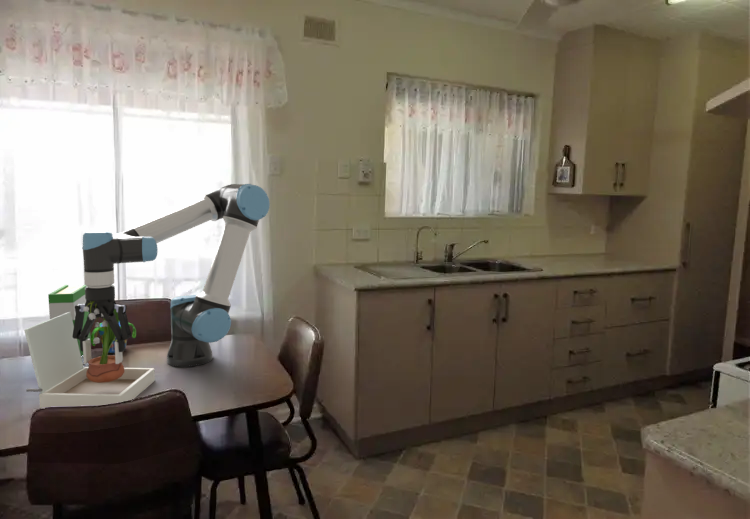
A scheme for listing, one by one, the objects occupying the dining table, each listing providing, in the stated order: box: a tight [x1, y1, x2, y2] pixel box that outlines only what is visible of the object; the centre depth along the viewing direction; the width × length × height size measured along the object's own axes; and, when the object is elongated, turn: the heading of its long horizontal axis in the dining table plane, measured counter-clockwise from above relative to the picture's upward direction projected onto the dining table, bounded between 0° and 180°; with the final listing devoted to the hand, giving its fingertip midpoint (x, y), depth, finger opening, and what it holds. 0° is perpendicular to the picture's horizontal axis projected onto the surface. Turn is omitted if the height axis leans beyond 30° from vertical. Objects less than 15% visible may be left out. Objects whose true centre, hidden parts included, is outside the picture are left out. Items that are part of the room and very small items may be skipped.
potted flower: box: [83, 301, 125, 383], centre depth 149 cm, size 12×10×25 cm
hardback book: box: [48, 284, 91, 357], centre depth 183 cm, size 18×7×24 cm, turn 15°
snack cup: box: [90, 321, 137, 354], centre depth 190 cm, size 16×10×10 cm
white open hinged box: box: [23, 312, 156, 409], centre depth 150 cm, size 26×22×22 cm
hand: (103, 362), depth 150 cm, fingers closed on potted flower, 8 cm apart
